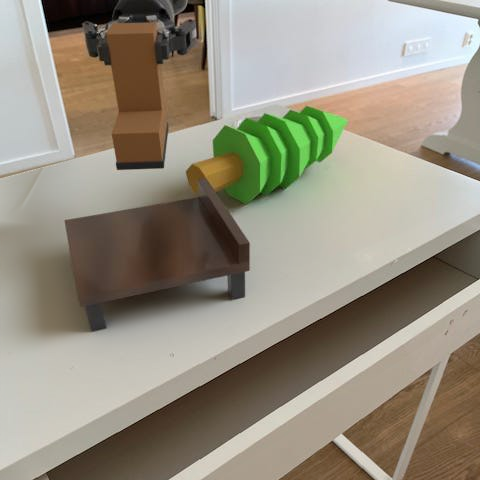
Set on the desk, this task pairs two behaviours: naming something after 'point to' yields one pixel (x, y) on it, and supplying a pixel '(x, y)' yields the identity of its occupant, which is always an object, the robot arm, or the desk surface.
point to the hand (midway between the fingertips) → (132, 54)
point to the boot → (137, 97)
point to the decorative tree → (267, 152)
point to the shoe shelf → (155, 250)
